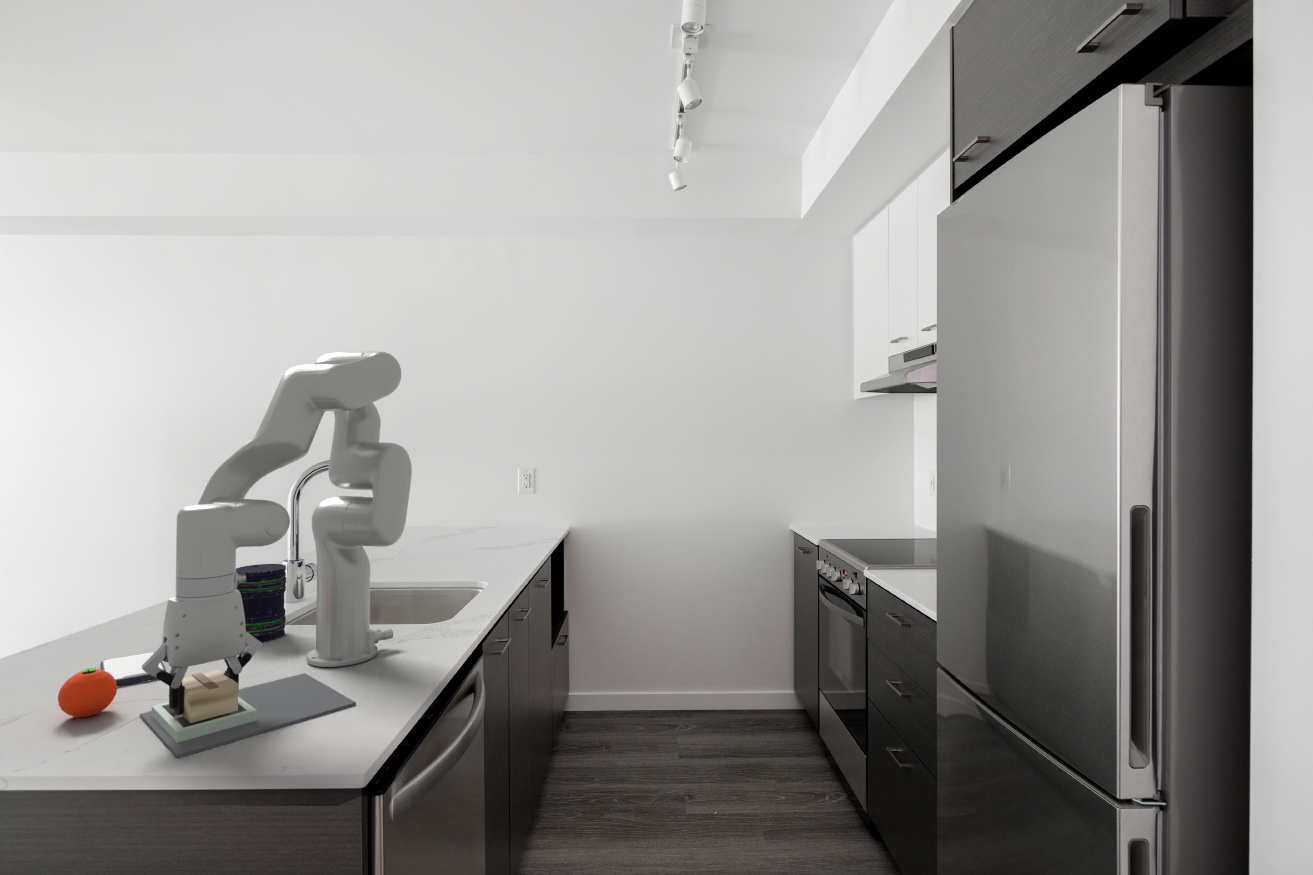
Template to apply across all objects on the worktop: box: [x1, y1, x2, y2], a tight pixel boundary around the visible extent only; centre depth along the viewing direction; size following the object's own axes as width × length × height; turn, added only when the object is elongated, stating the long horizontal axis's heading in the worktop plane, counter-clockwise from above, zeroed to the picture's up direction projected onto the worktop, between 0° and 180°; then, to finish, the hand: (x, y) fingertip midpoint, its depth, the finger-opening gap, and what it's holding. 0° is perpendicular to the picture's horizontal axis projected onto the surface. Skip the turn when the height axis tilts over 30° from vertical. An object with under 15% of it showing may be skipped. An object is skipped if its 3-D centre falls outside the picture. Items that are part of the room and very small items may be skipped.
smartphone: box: [100, 651, 167, 687], centre depth 120 cm, size 9×2×16 cm
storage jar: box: [236, 563, 287, 645], centre depth 142 cm, size 10×10×15 cm
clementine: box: [57, 667, 118, 718], centre depth 101 cm, size 8×7×7 cm
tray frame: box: [151, 696, 257, 743], centre depth 99 cm, size 10×14×2 cm
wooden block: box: [181, 668, 238, 723], centre depth 99 cm, size 10×6×4 cm, turn 49°
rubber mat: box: [139, 672, 357, 759], centre depth 103 cm, size 24×20×1 cm
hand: (204, 703), depth 99 cm, fingers closed on wooden block, 5 cm apart
